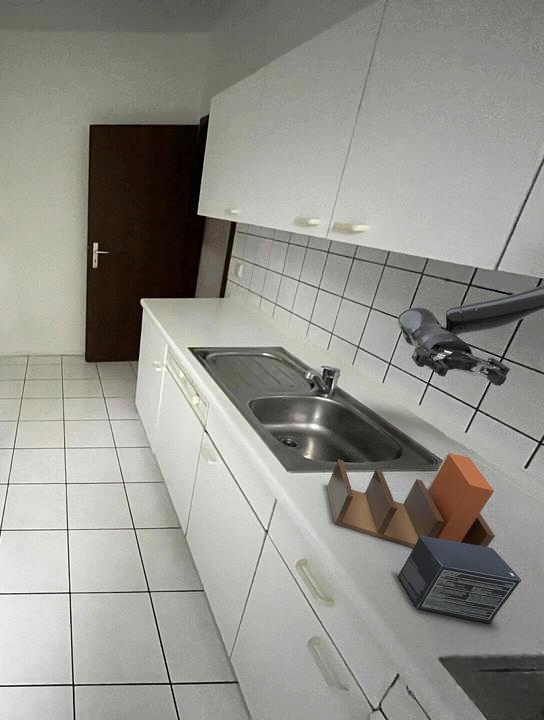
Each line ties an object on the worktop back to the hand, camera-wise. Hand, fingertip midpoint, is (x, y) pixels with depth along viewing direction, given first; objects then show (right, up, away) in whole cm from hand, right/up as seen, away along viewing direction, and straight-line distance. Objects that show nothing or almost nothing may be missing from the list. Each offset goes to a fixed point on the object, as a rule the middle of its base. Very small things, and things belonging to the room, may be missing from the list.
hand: (472, 376), depth 77 cm
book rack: (-13, -31, +4) cm, 33 cm away
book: (-6, -31, +1) cm, 31 cm away
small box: (-17, -38, -11) cm, 43 cm away
